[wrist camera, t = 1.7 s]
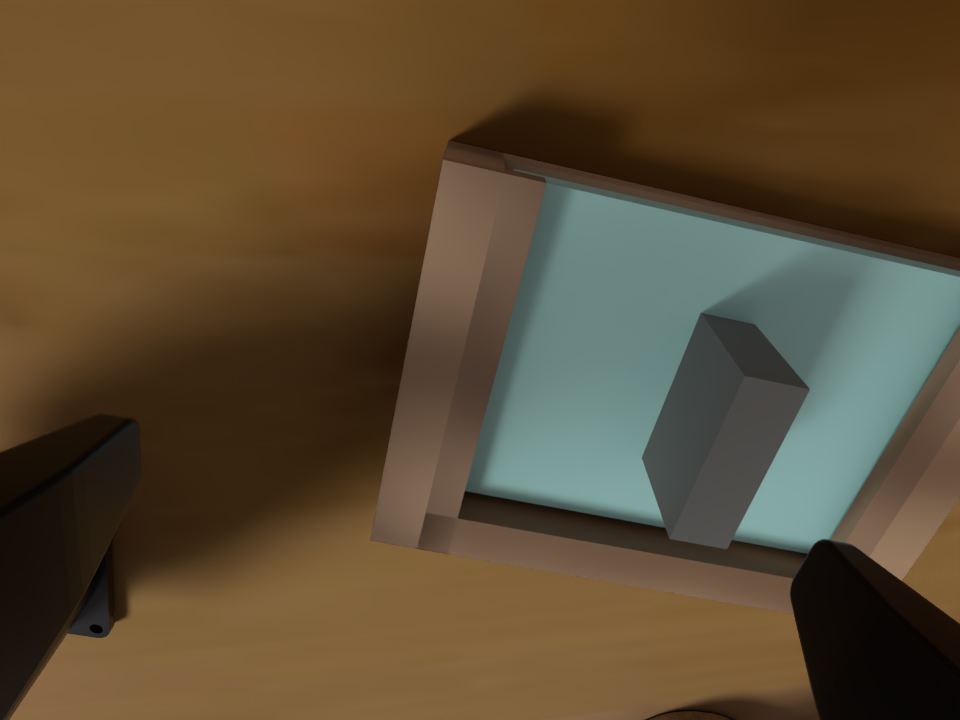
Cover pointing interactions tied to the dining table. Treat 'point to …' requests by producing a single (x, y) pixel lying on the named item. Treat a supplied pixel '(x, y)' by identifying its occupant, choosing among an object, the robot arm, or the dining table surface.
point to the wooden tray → (581, 536)
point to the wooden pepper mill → (689, 716)
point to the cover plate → (636, 338)
